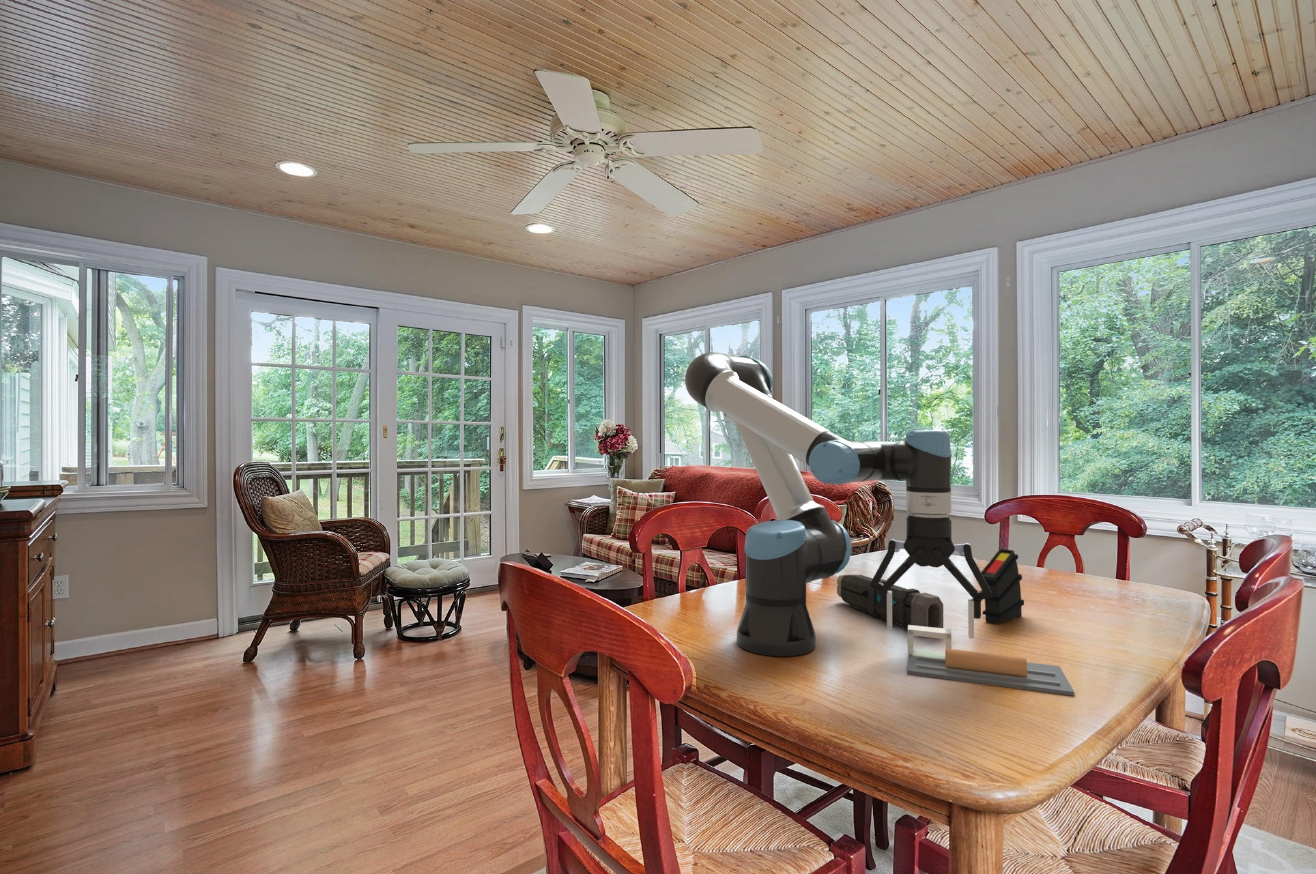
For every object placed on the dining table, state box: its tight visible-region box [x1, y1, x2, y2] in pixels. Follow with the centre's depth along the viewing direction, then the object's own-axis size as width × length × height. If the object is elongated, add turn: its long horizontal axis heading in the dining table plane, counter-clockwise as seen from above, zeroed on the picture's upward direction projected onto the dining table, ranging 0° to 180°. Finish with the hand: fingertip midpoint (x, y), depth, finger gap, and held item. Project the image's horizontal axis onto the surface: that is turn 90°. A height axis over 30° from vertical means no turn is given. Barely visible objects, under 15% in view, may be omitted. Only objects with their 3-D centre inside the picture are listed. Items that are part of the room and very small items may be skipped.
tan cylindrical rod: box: [944, 647, 1028, 678], centre depth 106 cm, size 12×3×3 cm, turn 67°
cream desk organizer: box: [907, 625, 953, 655], centre depth 114 cm, size 3×7×4 cm, turn 67°
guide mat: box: [906, 648, 1075, 697], centre depth 107 cm, size 24×12×1 cm, turn 67°
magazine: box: [981, 548, 1025, 625], centre depth 138 cm, size 4×13×15 cm, turn 127°
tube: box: [836, 574, 944, 631], centre depth 140 cm, size 11×7×30 cm
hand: (929, 632), depth 114 cm, fingers open, 13 cm apart
